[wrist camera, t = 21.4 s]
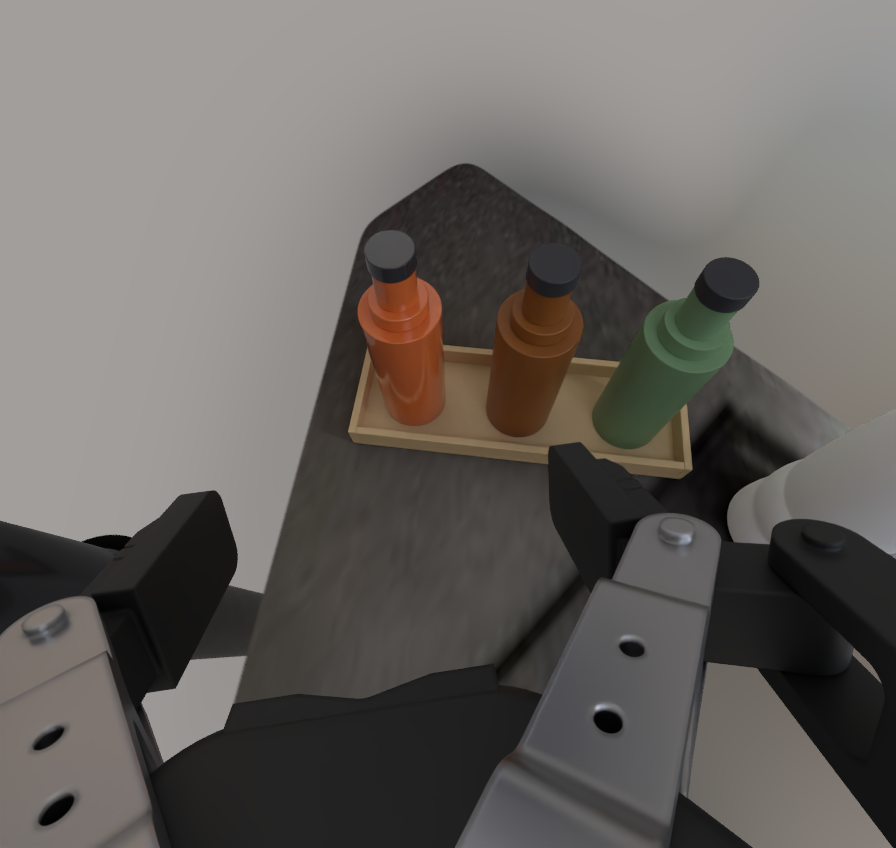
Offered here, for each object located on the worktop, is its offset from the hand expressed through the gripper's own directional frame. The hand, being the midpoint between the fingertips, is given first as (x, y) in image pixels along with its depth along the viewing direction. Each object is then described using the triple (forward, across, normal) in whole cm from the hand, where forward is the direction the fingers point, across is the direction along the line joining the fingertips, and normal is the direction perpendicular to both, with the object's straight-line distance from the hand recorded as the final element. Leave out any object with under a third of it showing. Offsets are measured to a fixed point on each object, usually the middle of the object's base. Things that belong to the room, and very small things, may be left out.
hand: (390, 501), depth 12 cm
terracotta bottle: (+30, 0, +7) cm, 31 cm away
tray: (+29, -9, +9) cm, 31 cm away
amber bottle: (+28, -9, +8) cm, 31 cm away
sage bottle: (+26, -18, +10) cm, 33 cm away
